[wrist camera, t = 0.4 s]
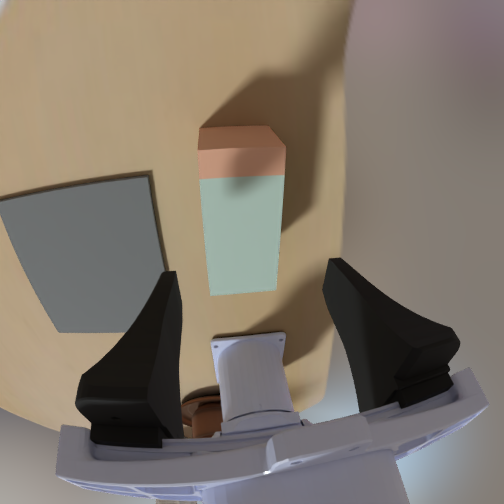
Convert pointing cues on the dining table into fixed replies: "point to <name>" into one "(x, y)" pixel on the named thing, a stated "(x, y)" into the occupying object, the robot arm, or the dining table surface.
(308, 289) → the dining table surface
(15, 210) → the rubber mat
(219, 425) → the cup and saucer
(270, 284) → the green and orange block
